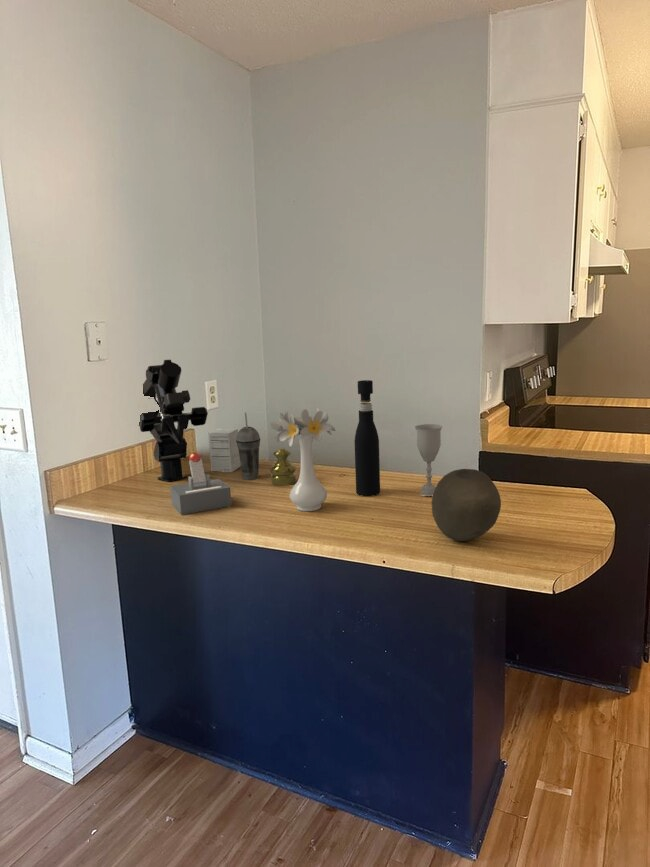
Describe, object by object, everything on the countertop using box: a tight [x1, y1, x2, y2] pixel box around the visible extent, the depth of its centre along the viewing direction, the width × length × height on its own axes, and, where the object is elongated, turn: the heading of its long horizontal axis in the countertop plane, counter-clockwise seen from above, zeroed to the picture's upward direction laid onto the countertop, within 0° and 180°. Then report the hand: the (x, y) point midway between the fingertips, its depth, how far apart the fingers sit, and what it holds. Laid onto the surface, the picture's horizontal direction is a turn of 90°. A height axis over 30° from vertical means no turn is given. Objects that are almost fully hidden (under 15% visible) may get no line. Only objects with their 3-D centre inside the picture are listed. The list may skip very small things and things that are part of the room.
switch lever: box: [188, 452, 206, 484], centre depth 162 cm, size 3×3×8 cm
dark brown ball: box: [431, 468, 502, 542], centre depth 130 cm, size 14×14×15 cm
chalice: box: [414, 423, 443, 496], centre depth 163 cm, size 7×7×18 cm
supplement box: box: [208, 427, 241, 473], centre depth 199 cm, size 7×7×13 cm
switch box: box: [169, 473, 232, 516], centre depth 162 cm, size 10×13×8 cm
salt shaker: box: [269, 447, 297, 486], centre depth 181 cm, size 7×7×10 cm
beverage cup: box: [236, 412, 261, 481], centre depth 186 cm, size 7×7×20 cm
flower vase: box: [269, 407, 336, 512], centre depth 155 cm, size 13×18×25 cm
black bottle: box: [354, 379, 381, 497], centre depth 165 cm, size 6×6×30 cm
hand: (180, 442), depth 176 cm, fingers closed
